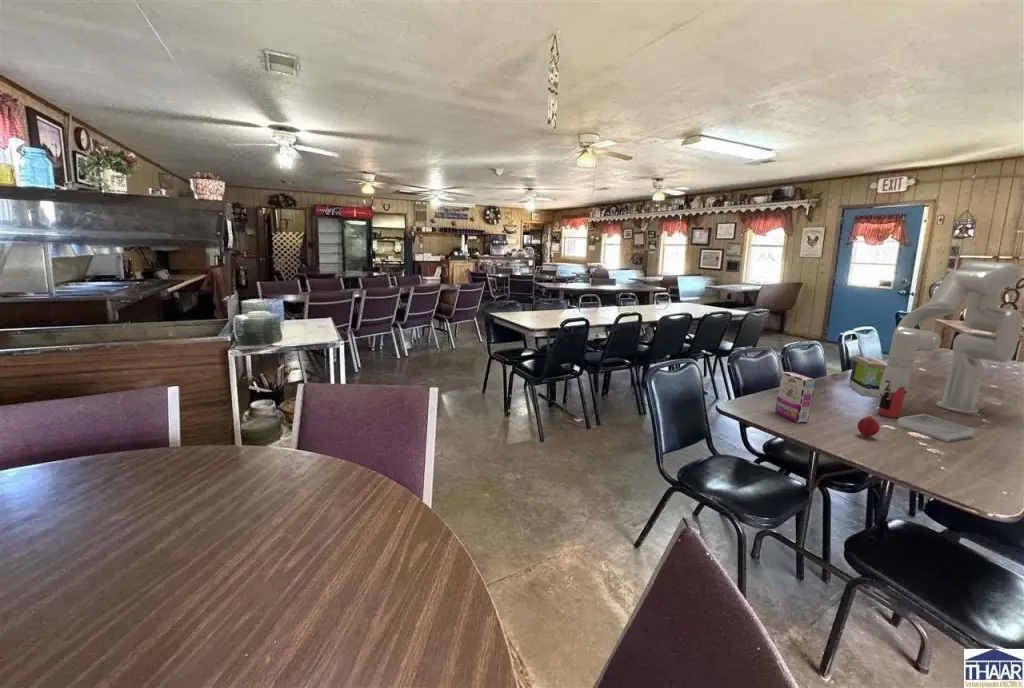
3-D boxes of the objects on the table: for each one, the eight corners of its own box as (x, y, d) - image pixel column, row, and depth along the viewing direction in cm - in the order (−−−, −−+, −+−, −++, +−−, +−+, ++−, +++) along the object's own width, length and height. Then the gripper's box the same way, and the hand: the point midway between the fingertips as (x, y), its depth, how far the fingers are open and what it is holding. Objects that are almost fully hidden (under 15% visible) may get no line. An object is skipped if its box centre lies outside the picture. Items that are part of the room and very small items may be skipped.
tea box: (888, 398, 199) (895, 365, 196) (861, 395, 201) (868, 363, 198) (872, 388, 213) (879, 357, 210) (847, 386, 216) (853, 355, 212)
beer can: (899, 419, 173) (906, 389, 171) (877, 415, 177) (884, 385, 175) (898, 415, 178) (905, 385, 176) (877, 410, 182) (884, 382, 180)
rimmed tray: (922, 421, 173) (924, 413, 172) (972, 437, 159) (974, 429, 158) (896, 425, 167) (898, 417, 167) (946, 442, 154) (948, 433, 153)
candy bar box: (809, 422, 167) (817, 379, 163) (797, 423, 166) (805, 380, 162) (785, 411, 178) (792, 371, 174) (774, 412, 177) (781, 371, 173)
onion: (877, 442, 152) (883, 419, 150) (856, 437, 155) (861, 415, 153) (875, 436, 157) (880, 414, 155) (854, 432, 160) (859, 410, 158)
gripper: (903, 359, 180) (893, 402, 184) (874, 361, 174) (865, 406, 178) (926, 364, 173) (915, 409, 177) (896, 367, 167) (886, 413, 171)
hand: (890, 407), depth 177 cm, fingers closed on beer can, 6 cm apart
